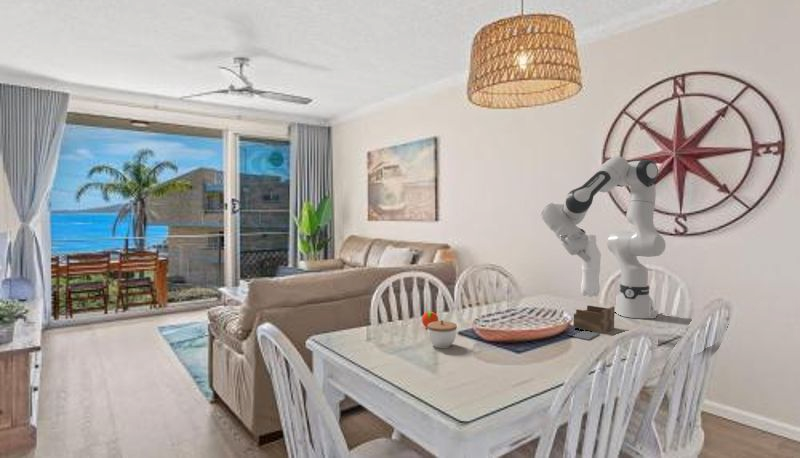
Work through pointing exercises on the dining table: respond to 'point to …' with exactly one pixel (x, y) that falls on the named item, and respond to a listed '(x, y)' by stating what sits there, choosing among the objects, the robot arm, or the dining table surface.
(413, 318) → the dining table surface
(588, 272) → the water bottle
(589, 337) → the mat
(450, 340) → the lidded jar
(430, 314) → the tomato
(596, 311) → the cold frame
